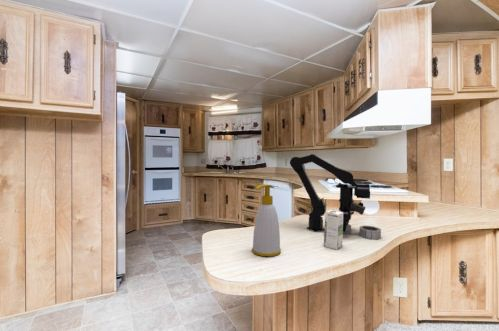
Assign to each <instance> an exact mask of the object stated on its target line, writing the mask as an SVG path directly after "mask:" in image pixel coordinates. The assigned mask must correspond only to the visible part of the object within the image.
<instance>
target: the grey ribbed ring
mask: <svg viewBox="0 0 499 331" xmlns="http://www.w3.org/2000/svg"><path fill="white" fill-rule="evenodd" d="M358 231H359V237H361V238H363V239H365V240H366V239H367V240H374V241H375V240H376V241H377V240H381V238H382V228H379V227H378V226H372V225H360V226H359V230H358Z"/></svg>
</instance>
